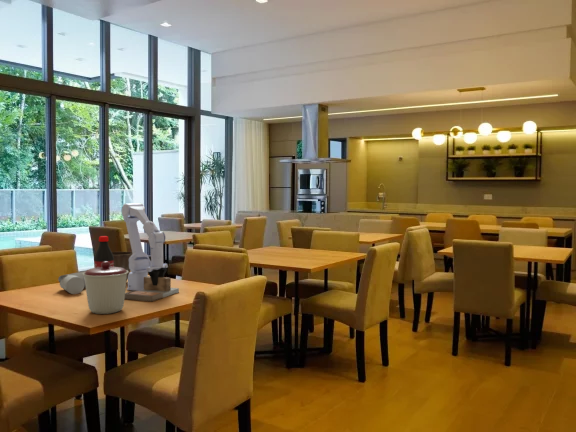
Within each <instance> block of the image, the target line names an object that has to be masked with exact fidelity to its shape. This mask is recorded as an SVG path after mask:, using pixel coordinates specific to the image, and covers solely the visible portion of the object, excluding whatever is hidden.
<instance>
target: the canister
mask: <svg viewBox="0 0 576 432" xmlns="http://www.w3.org/2000/svg"><path fill="white" fill-rule="evenodd" d="M101 266H102V267H98V268H94V267H93V268H90V269H89V268H88V269H87V270H85V271H86V272H84V273H83V276H84V278H85V286H86V287H85V292H86V299H87V304H88V309H89V311H90V312H91V313H93V314H96V315H97V314H98V315H107V314H108V315H109V314H115V313H118V312H120V311H122V309H123V308H124V306H125V305H124V304H125V300H126V299H125V293H126V290H127V282H126V280H127V281H128V279H127V274H128V272H129V271H127V270H125V269H124V268H121V267H110V263H109V262H108V261H104V262H102V263H101Z"/></svg>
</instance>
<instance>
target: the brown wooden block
mask: <svg viewBox="0 0 576 432" xmlns="http://www.w3.org/2000/svg"><path fill="white" fill-rule="evenodd" d="M171 283H172V282H171V277H165V276H164V277H158V283H157V285H153V284H152V280H151V277H150V275H148V276H146V277H144V289H146V290H158V291H169V290H171V288H172V287H171Z"/></svg>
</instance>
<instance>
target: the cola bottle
mask: <svg viewBox="0 0 576 432" xmlns="http://www.w3.org/2000/svg"><path fill="white" fill-rule="evenodd" d="M109 241H110V240H109V236H107V235H100V236H99V237H98V243H99V245H98V247H97V249H96V252H95V255H94V257H93V261H94V263H93V264H94V267H93V268H98V267H102V266H101V263H102V262H104V261H108V262H109V263H110V267H114V257H113V254H112V252H113V251H112V250H111V248H110V246H109Z"/></svg>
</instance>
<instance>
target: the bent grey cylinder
mask: <svg viewBox="0 0 576 432" xmlns="http://www.w3.org/2000/svg"><path fill="white" fill-rule="evenodd" d="M86 271H87V270H84V271H78V272H73V273H69V274H63V275H60V276H59V277H58V278H57V280H58V282H59V286H60V288H61V289H63V290H65V291H66V292H67V293H69V294H71V295H77V294H80V293H82V292H83V290H84V289H86V286H85V278H84V276H83V273H84V272H86Z"/></svg>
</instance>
